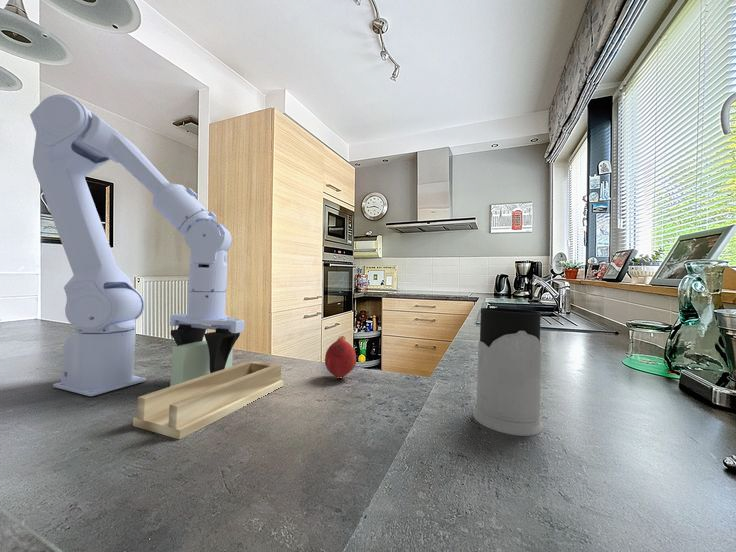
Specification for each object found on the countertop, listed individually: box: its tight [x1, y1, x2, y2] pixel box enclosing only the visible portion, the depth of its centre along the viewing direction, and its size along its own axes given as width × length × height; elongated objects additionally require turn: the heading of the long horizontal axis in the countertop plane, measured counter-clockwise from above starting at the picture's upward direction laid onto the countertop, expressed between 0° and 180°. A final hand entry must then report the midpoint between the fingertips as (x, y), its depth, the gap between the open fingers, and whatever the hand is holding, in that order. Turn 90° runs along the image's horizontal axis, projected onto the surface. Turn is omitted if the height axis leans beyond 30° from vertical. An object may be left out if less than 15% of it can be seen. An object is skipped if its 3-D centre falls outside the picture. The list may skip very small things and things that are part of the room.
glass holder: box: [472, 307, 544, 437], centre depth 45 cm, size 9×14×15 cm, turn 177°
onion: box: [324, 334, 357, 378], centre depth 57 cm, size 6×6×8 cm
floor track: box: [132, 360, 284, 440], centre depth 44 cm, size 8×19×4 cm, turn 160°
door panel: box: [169, 339, 234, 387], centre depth 52 cm, size 2×10×7 cm, turn 160°
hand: (203, 371), depth 52 cm, fingers open, 5 cm apart
